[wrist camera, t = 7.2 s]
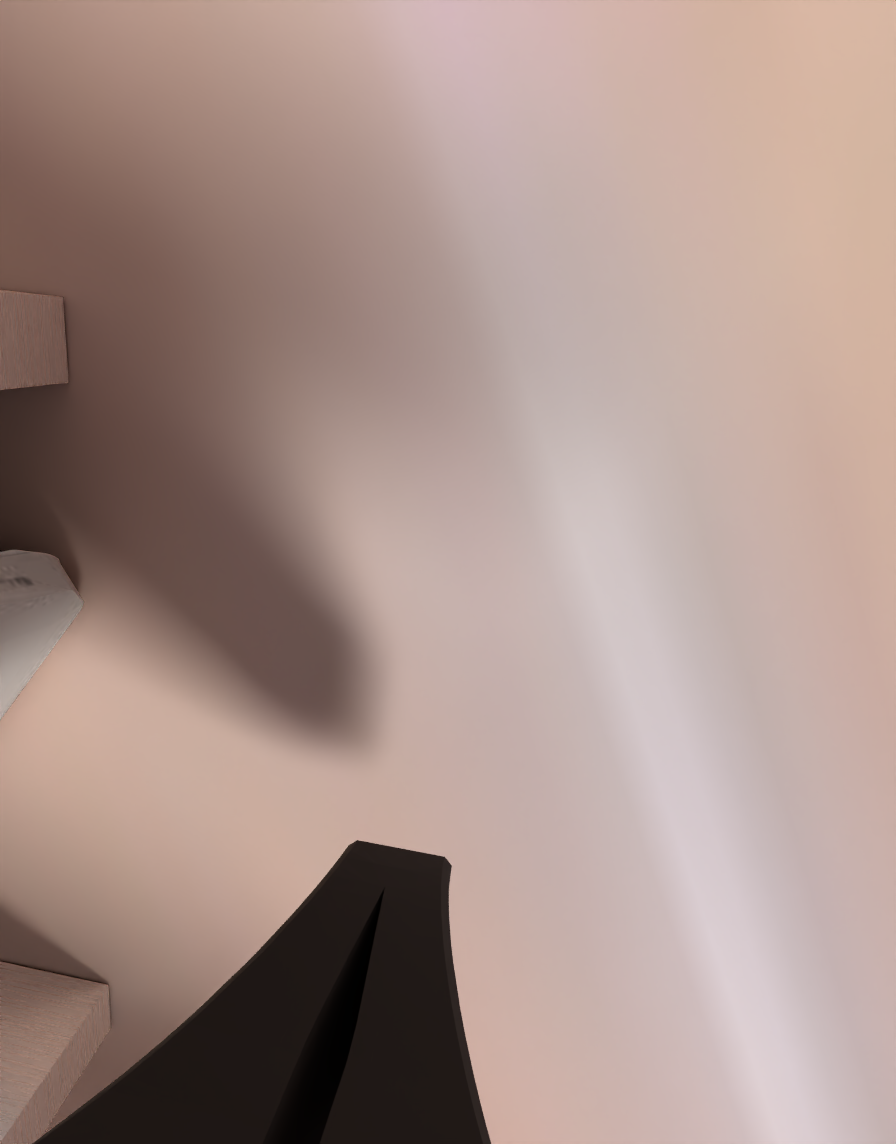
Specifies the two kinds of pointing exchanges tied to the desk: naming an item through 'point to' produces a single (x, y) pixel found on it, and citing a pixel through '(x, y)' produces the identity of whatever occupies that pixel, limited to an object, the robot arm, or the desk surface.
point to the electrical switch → (31, 616)
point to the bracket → (6, 991)
